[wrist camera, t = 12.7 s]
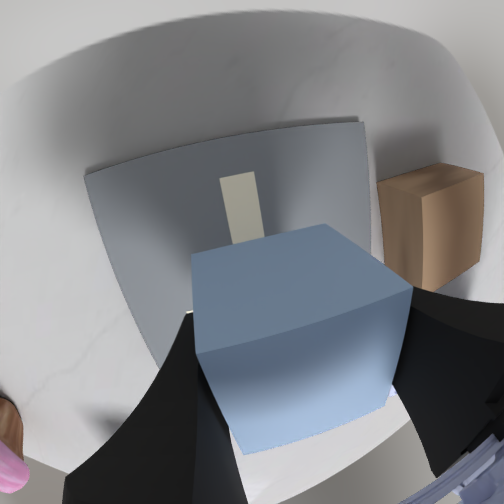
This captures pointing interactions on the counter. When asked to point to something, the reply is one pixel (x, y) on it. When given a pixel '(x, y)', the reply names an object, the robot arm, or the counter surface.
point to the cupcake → (11, 449)
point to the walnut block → (432, 223)
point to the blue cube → (296, 333)
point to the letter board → (222, 209)
